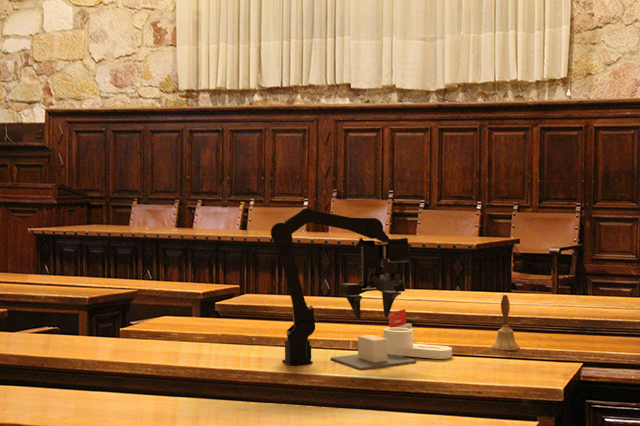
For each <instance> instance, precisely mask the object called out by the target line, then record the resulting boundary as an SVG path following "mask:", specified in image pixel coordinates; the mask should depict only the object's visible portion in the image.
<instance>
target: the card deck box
mask: <svg viewBox="0 0 640 426" xmlns="http://www.w3.org/2000/svg"><path fill="white" fill-rule="evenodd" d="M357 345H358V346H357V354H358V358H361V359H364V360H368V361H371V362H381V361H387V339H385V338H383V337H381V336H378V335H373V334H368V335H359V336H357Z"/></svg>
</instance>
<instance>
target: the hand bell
mask: <svg viewBox="0 0 640 426" xmlns="http://www.w3.org/2000/svg"><path fill="white" fill-rule="evenodd" d="M510 307H511V303H510V301H509V298H508V294H503V295H502V298H501V301H500V311H501V314H502V327H501V328H500V329H498V330H497V337H496V339H495V342H494V343H493V344H492V345H491V348H492V349H494V350H498V351H516V350H520V349H521V348H520V345H519V344H517V341H516V339H515V336H514V335H515V334H514V330H513V329H511V328H510V326H509V313H510V309H511V308H510Z"/></svg>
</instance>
